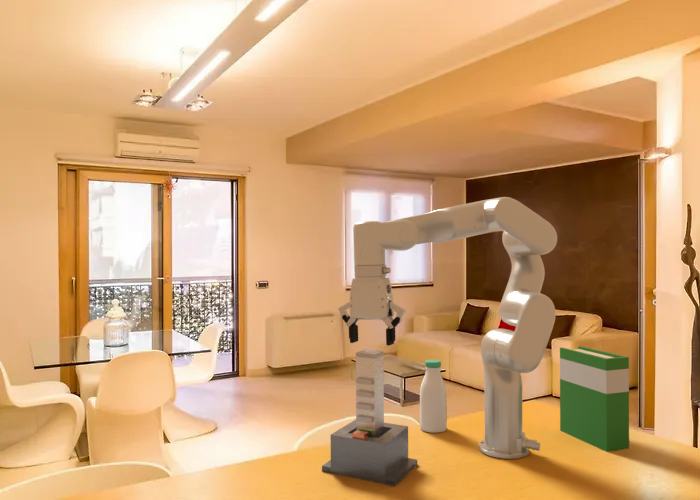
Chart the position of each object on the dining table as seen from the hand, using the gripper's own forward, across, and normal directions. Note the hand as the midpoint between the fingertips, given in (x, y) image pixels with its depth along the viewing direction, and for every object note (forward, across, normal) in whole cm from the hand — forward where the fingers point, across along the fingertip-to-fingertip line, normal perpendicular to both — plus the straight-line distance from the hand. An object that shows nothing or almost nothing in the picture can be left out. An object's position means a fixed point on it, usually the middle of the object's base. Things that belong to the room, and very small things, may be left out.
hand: (372, 343), depth 134 cm
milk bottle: (+31, -3, -33) cm, 45 cm away
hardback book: (+32, -45, -45) cm, 71 cm away
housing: (+30, +1, +1) cm, 30 cm away
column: (+24, +1, +1) cm, 24 cm away
